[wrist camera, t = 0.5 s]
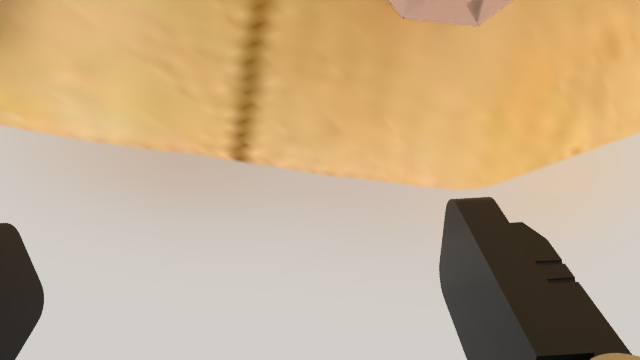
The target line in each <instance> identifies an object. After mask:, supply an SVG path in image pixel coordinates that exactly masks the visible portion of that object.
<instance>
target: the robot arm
mask: <svg viewBox="0 0 640 360" xmlns="http://www.w3.org/2000/svg"><path fill="white" fill-rule="evenodd" d="M439 268H440V269H439V270H440V282H441V288H442V293H443V296H444V299H445V302H446V304H447V307H448V310H449V312H450V315H451V318H452V320H453V323H454V326H455V328H456V331H457V334H458V336H459V339H460V342H461V344H462V347H463V350H464V352H465V355H466V358H467V360H640V357H639V356H634V355H632V354H631V353H630V351H629V350H628V349H627V348H626V346H625V345H624V343H623V342H622V341H621V339H620V338H619V337H618V335H617V334H616V333H615V331H614V330H613V328H612V327H611V326H610V324H609V323H608V322H607V320H606V319H605V318H604V316H603V315H602V314H601V312H600V311H599V309H598V308H597V307H596V305H595V304H594V303H593V301H592V300H591V299H590V297H589V296H588V295H587V293H586V292H585V290H584V289H583V288H582V286H581V285H580V284H579V282H575V277H574V276H573V274H572V273H571V272H570V270H569V269H568V267H567V266H566V265H565V264H562V259H561V258H560V257H559V256H558V254H557V253H556V251H555V250H554V248H553V247H552V246H551V244H550V243H549V242H548V240H547V239H546V238H544V237H543V236H541V235H540V234H539V233H537V232H536V231H534V230H533V229H531V228H530V227H528V226H527V225H525V224H524V223H522V222H518V223H509V222H508V220H507V218H506V217H505V215H504V214H503V212H502V211H501V209H500V208H499V206H498V205H497V203H496V202H495V201H494V199H493V198H491V197H482V198H464V199H451V200H449V201H448V203H447V206H446V212H445V221H444V230H443V238H442V247H441V255H440V265H439ZM43 304H44V294H43V288H42V285H41V282H40V280H39V278H38V275H37V273H36V271H35V269H34V266H33V264H32V262H31V259H30V257H29V255H28V253H27V250H26V248H25V246H24V244H23V241H22V239H21V236H20V234H19V232H18V231H17V229H16V228H15V227H14V226H13V225H11V224H8V223H0V360H15V359H16V357H17V355H18V354H19V352H20V350H21V349H22V347H23V345H24V344H25V342H26V341H27V339H28V337H29V336H30V334H31V332H32V331H33V329H34V327H35V325H36V324H37V322H38V320H39V318H40V316H41V314H42V310H43Z"/></svg>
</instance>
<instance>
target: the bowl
mask: <svg viewBox="0 0 640 360" xmlns="http://www.w3.org/2000/svg"><path fill="white" fill-rule="evenodd" d="M385 1H386V2H387V3H388V4H389V5H390V6H391V7H392V8H393V9H394V10H395V11H396V12H397V14H398V15H399V16H400V17H401V18H403V19H407V20H417V21H427V22H437V23H447V24H457V25H467V26H477V25H478V26H479V25H480V24H482V23H483V22H484V21H486V20H487V19H488V18H490V17H491V16H492V15H494V14H495V13H496V12H498V11H499V10H500V9H502V8H503V7H504V6H506V5H507V4H508V3H510V2H511V1H512V0H385Z"/></svg>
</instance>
